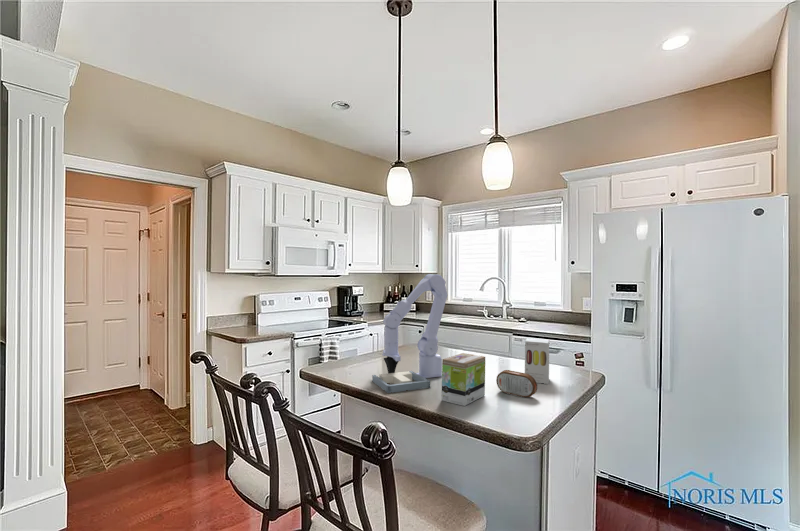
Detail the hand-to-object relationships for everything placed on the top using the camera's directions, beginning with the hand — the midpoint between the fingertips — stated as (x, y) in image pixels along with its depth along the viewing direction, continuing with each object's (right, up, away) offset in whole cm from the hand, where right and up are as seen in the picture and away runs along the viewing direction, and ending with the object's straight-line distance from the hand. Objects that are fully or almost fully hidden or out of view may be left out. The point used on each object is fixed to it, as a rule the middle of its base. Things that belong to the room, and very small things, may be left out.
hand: (391, 374), depth 168 cm
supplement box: (+61, -2, -2) cm, 61 cm away
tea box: (+27, -2, -26) cm, 37 cm away
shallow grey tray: (+4, -1, -9) cm, 10 cm away
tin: (+46, -2, -21) cm, 51 cm away
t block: (+4, -1, -8) cm, 9 cm away
